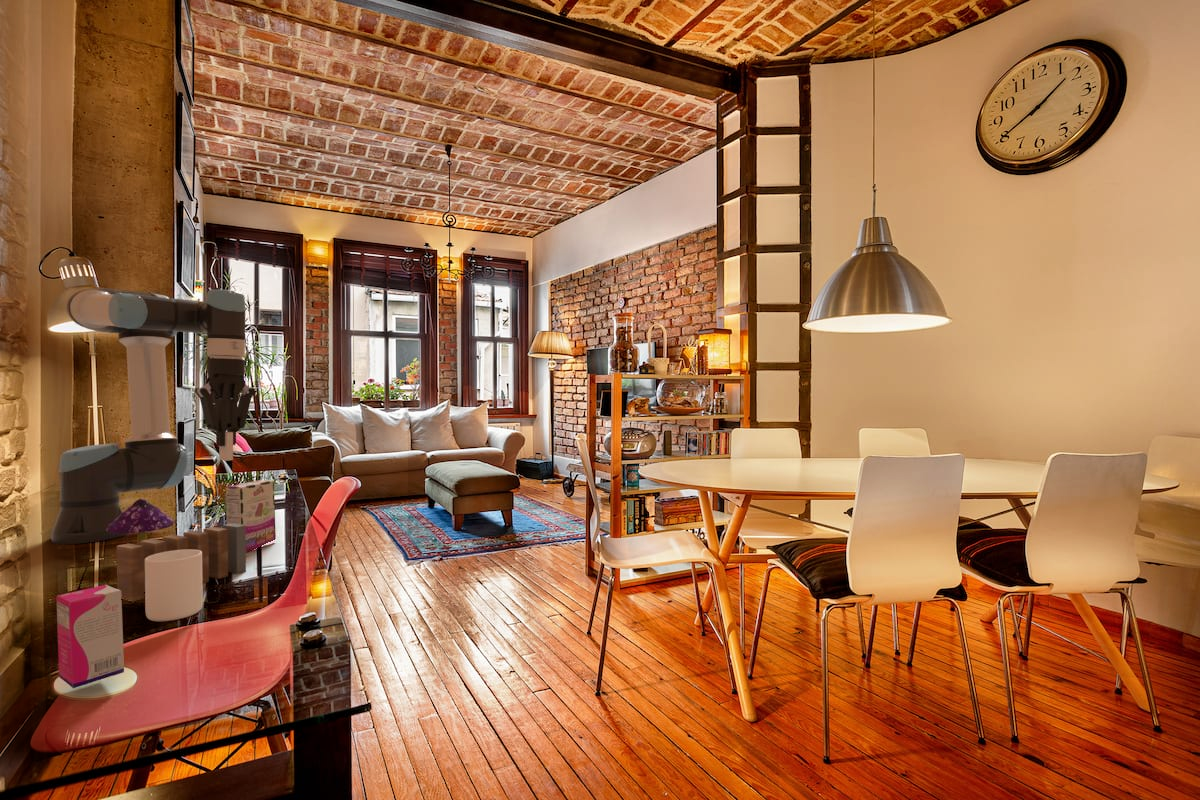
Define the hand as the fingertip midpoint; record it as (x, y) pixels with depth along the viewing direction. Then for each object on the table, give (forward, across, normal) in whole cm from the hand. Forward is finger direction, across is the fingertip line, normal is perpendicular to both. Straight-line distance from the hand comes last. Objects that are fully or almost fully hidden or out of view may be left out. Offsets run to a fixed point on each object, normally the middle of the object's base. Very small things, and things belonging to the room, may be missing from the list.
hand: (226, 459), depth 143 cm
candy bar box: (+24, +9, +4) cm, 26 cm away
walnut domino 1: (+23, -25, -11) cm, 36 cm away
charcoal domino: (+23, -5, -11) cm, 26 cm away
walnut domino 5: (+23, -9, -11) cm, 27 cm away
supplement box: (+22, -45, -42) cm, 65 cm away
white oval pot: (+23, -26, -25) cm, 42 cm away
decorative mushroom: (+24, -11, +13) cm, 29 cm away
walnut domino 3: (+23, -17, -11) cm, 31 cm away
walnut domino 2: (+23, -21, -11) cm, 33 cm away
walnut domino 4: (+23, -13, -11) cm, 29 cm away
